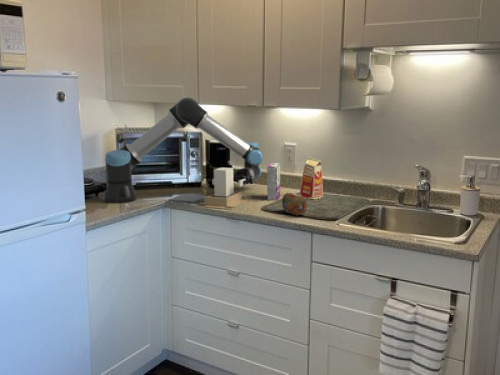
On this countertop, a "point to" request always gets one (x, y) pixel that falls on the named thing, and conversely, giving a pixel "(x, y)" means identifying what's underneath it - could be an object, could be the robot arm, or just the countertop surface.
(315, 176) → the milk carton
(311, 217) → the countertop surface
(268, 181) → the candy bar box
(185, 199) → the board
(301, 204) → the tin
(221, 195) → the box
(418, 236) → the countertop surface
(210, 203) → the carton
